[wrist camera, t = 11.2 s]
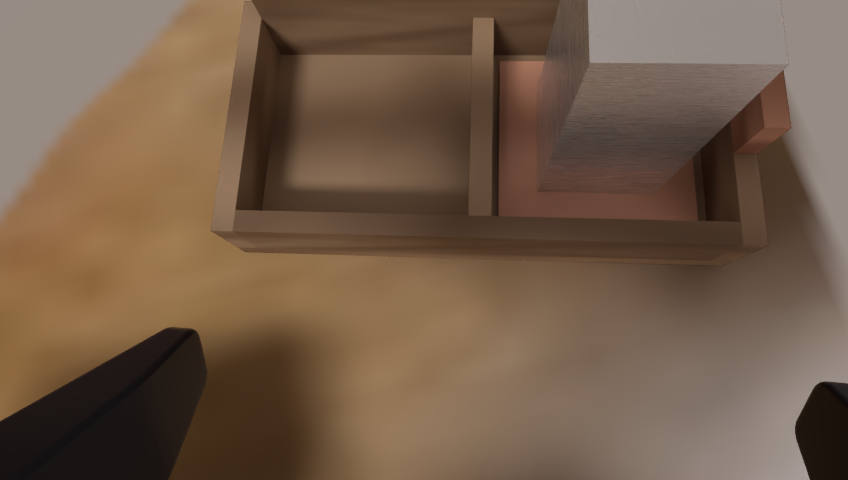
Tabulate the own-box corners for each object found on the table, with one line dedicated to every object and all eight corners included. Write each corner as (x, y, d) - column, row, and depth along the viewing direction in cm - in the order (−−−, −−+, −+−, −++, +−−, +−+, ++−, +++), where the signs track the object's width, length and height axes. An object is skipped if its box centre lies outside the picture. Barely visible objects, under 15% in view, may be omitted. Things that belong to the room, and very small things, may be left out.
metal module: (653, 194, 21) (788, 64, 13) (536, 191, 22) (589, 62, 13) (647, 90, 22) (767, -95, 14) (536, 89, 23) (584, -93, 14)
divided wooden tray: (722, 265, 21) (804, 229, 16) (245, 251, 23) (183, 214, 18) (701, 50, 24) (768, -41, 19) (271, 49, 25) (223, -36, 20)
